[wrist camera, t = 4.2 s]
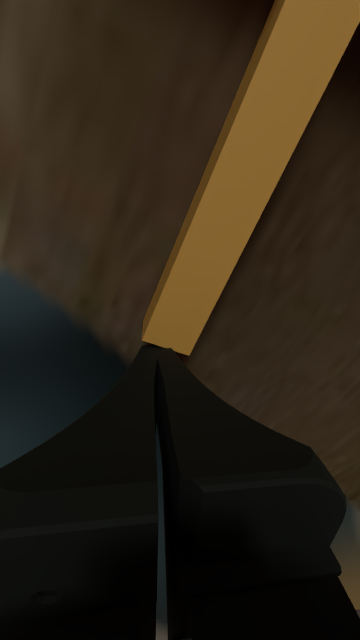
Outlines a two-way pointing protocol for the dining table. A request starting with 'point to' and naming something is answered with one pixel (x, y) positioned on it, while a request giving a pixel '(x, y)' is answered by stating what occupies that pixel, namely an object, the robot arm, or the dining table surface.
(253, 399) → the dining table surface
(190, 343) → the wooden stick
